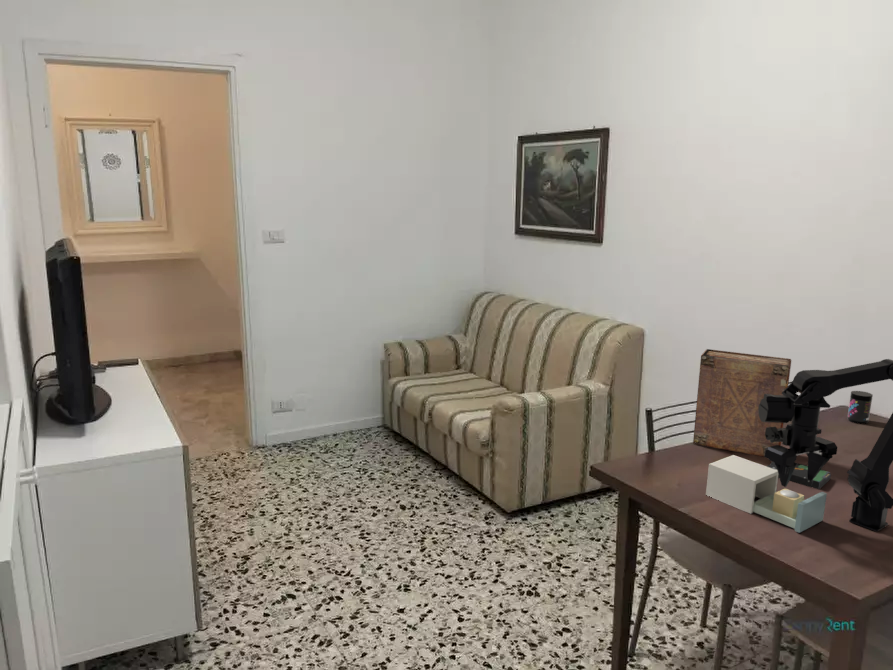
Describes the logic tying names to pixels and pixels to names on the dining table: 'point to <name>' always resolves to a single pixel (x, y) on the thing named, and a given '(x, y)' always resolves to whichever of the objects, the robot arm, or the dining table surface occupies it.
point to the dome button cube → (787, 502)
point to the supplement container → (859, 406)
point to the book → (737, 400)
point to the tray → (806, 512)
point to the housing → (740, 482)
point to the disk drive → (806, 476)
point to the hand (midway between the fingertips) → (797, 483)
